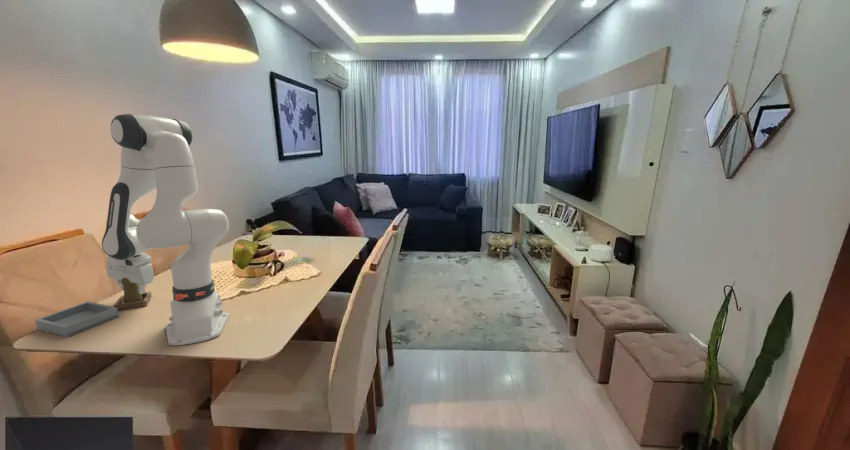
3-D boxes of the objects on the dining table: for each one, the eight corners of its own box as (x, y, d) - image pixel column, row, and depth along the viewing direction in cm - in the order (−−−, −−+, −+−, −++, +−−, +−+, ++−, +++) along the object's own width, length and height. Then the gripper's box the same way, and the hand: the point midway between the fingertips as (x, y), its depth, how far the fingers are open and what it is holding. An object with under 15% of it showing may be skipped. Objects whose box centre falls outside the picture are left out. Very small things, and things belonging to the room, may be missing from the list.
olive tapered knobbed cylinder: (133, 307, 138) (128, 279, 136) (119, 305, 139) (114, 278, 137) (147, 300, 144) (143, 274, 141) (135, 299, 145) (130, 272, 142)
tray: (118, 316, 131) (116, 307, 130) (67, 337, 117) (65, 327, 116) (89, 310, 135) (88, 301, 135) (37, 329, 122) (34, 319, 121)
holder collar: (146, 306, 139) (146, 301, 139) (114, 310, 135) (113, 305, 135) (151, 296, 148) (151, 291, 147) (121, 300, 144) (120, 295, 143)
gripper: (98, 255, 138) (104, 290, 141) (137, 263, 132) (143, 298, 135) (116, 251, 144) (122, 284, 147) (154, 257, 137) (160, 292, 141)
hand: (132, 291), depth 141 cm, fingers open, 8 cm apart
